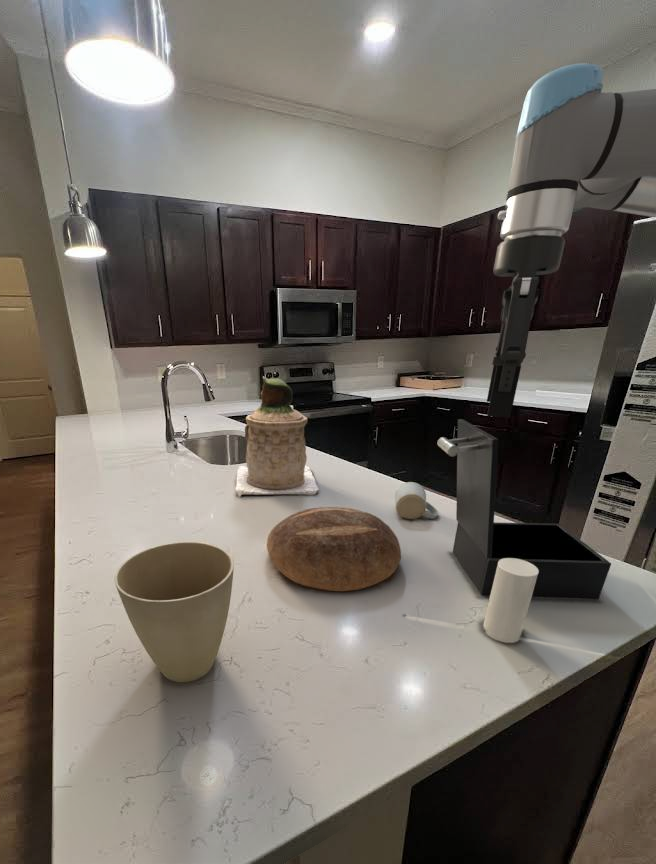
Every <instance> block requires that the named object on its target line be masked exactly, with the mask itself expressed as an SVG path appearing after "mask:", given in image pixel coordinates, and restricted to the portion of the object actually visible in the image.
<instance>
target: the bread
mask: <svg viewBox="0 0 656 864" xmlns="http://www.w3.org/2000/svg"><path fill="white" fill-rule="evenodd" d="M266 549H267V553H268V556H269V559H270V561H271V563H272V565H273V567H275V568H276V569H277V570H278V571H279V572H280V573H281V574H282V575H284V576H285V577H286V578H287V579H288V580H290V581H292V582H294V583H296V584H298V585H301V586H304V587H308V588H312V589H318V590H323V591H331V592H349V591H351V592H352V591H358V590H361V589H366V588H368V587H372V586H374V585H376V584H379V583H381V582H383V581H384V580H386V579H388V578H390V577H391V576H392V574H394V573H395V572H396V570H397V568H398V566H399V564H400V561H401V559H402V554H401V553H402V552H401V551H402V550H401V544H400V542H399V539H398V537H397V535H396V534H395V532H394V531H393V530H392V528H391V527H390V525H388V524H387V523H386V522H384V521H383V520H382V519H381V518H379V517H377V516H376V515H374V514H372V513H370V512H366V511H364V510H359V509H356V508H355V509H354V508H349V507H338V506H337V507H334V506H325V507H321V506H320V507H314V508H308V509H304V510H300V511H298V512H296V513H293V514H291V515H289V516H287V517H286V518H283V520H281V521H279V522H278V523H277V524H276V525H275V526H274V527H272V528H271V530H270V532H269V534H268V536H267V539H266Z"/></svg>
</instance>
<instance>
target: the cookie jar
mask: <svg viewBox="0 0 656 864" xmlns="http://www.w3.org/2000/svg"><path fill="white" fill-rule="evenodd" d="M262 380H263V384H262V390H261V393H260V398H261V403H260V406H259V407H258V408H257V409H256V410H255V411H254V412H253V413H250V414H248V415H247V416H246V417H245V423H246V424H245V426H244V440H245V442H246V454H245V462H246V465H245V466H243V465H239V466H238V469H237V472H236V478H235V479H236V481H235V482H236V485H235V487H234V490H235V492H236V493H237V495H238V497H239V498H242V495H255V496H256V495H257V496H259V495H261V496H262V495H299V496H300V495H302V496H303V495H307V496H308V495H309V496H311V495H316V494H317V492H318V491H319V486H318V485H317V484H318V483H316V482H317V481H316V479H315V477H314V476H313V475H314V474H313V473H312V471H311V467H310V466H308V465H306V464H307V459H308V458H307V457H308V456H307V445H306V438H305V427H306V425H307V424H308V422H309V421H308V418H307V417H306V416H305V415H303V414H302V413H301V412H300V411H298V410H296V409H294V408H293V407H292V406H291V404H292V403H293V398H294V397H293V395H294V393H293V390H292V387H290V386H289V385H288V384H287V383H286V382H285V380H283V379H281V378H278V377H275V378H267V377H265V376H262Z"/></svg>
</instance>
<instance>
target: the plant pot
mask: <svg viewBox="0 0 656 864" xmlns="http://www.w3.org/2000/svg"><path fill="white" fill-rule="evenodd" d="M234 568H235V561H234V558H233V556H232V555H231V554H230V553H229V552H228V551H227V550H226V549H224V548H222V547H220V546H218V545H215V544H213V543H208V542H202V541H178V542H177V541H175V542H169V543H164V544H159V545H156V546H152V547H149V548H146V549H144V550H142V551H139V552H138V553H136V554H135V553H134V555H132V556H130V557H129V558H127V559H126V560H125V561H124V562H123V563H121V565H119V567H118V568H117V570H116V572H115V574H114V584H115V588H116V590H117V592H118V595H119V598H120V600H121V603H122V605H123V608H124V610H125V613H126V615H127V617H128V620H129V623H130V624H131V626H132V628H133V630H134V632H135V634H136V636H137V637H138V639H139V641H140V643H141V645H142V646H143V648H144V649H145V651H146V653H147V654H148V656H149V658H150V659H151V661H152V662H153V663H154V664H155V666H156V667H157V669H158V670H159V671H160V672H161V674H162V675H163V676H164V677H165V678H166V679H168V680H169V681H172V682H176V683H190V682H194V681H196V680H199V679H201V678H203V677H204V676H206V675H207V674H208V673H209V672H210V671H211V669H212V668H213V666H214V663H215V661H216V659H217V655H218V653H219V650H220V648H221V644H222V640H223V637H224V633H225V630H226V627H227V626H226V625H227V621H228V615H229V610H230V605H231V597H232V591H233V579H234Z"/></svg>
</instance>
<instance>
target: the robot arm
mask: <svg viewBox="0 0 656 864" xmlns="http://www.w3.org/2000/svg"><path fill="white" fill-rule="evenodd" d="M603 78H604V73H603V70H602V67H600V66H599V65H597V64H589V63H588V62H578V63H573V64H569V65H565V66H562V67H559V68H556V69H554V70H552V71H549V72H548V73H546V74H544V75H542V76H541V77H540V78H539V79H537V80H536V81H535V82H534V83H533V84H532V86H531V87H529V89H528V91H527V93H526V95H525V98H524V101H523V106H522V110H521V113H520V119H519V123H518V127H517V132H516V134H515V138H514V140H515V142H514V143H515V144H514V150H513V156H512V163H511V169H510V176H509V182H508V188H507V194H506V199H505V205H504V209H505V210H500V211H499V212H498V214H497V220H499V221H502V223H501V226H500V227H501V228H500V233H499V237H500V239H502V240H503V241H501V242H500V243H499V245H497V247H496V252H495V258H494V264H493V270H492V272H493V274H494V276H496V277H501V278H508V277H510V278H511V277H512V282H511V286H508V287H509V288H507V290H504V292H503V295H502V299H501V307H502V309H501V314H500V320H499V321H500V322H501V329H500V333H499V338H498V343H497V346H496V347H495V354H494V356H493V360H492V363H491V364H492V366H493V367H492V372H491V376H490V382H489V386H488V387H489V388H488V391H487V398H486V402H489V404H488V410H487V415H486V416H487V417H491V418H507V419H511V415H512V410H513V407H514V402H515V396H516V392H517V388H518V383H519V378H520V373H521V370H522V363H524V359H526V356H527V353H526V349H527V344H528V338H529V333H530V327H531V321H532V320H533V319H532V318H533V316H534V312H535V306H536V304H537V301H538V298H539V293H540V288H538V285H539V284H540V277H539V276H542V275H543V276H544V275H548V274H553V273H555V272H557V271H558V270H559V268H560V266H561V262H562V257H563V252H564V248H565V244H566V240H565V238H564V237H563V236H562V235H563V234H565V233H567V232H568V231H569V229H570V226H571V225H570V224H571V221H572V216H573V212H577V211H582V210H585V209H586V208H591V209H598V210H605V211H613V212H617V213H625V214H631V215H637V216H643V217H650V218H656V88H650V89H641V90H631V91H622V92H612V91H610V92H602V90H603V87H604V84H603Z"/></svg>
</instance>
